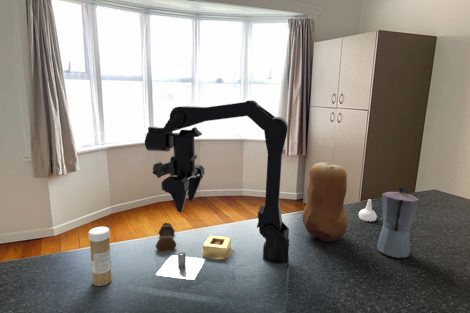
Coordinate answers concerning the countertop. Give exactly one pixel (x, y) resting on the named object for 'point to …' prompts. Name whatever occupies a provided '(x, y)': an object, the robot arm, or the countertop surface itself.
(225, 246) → the brass square sleeve
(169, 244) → the bolt
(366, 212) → the garlic bulb
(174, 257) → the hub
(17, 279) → the countertop surface
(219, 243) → the stand
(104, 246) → the sprinkles bottle
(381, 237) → the moka pot
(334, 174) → the butternut squash
